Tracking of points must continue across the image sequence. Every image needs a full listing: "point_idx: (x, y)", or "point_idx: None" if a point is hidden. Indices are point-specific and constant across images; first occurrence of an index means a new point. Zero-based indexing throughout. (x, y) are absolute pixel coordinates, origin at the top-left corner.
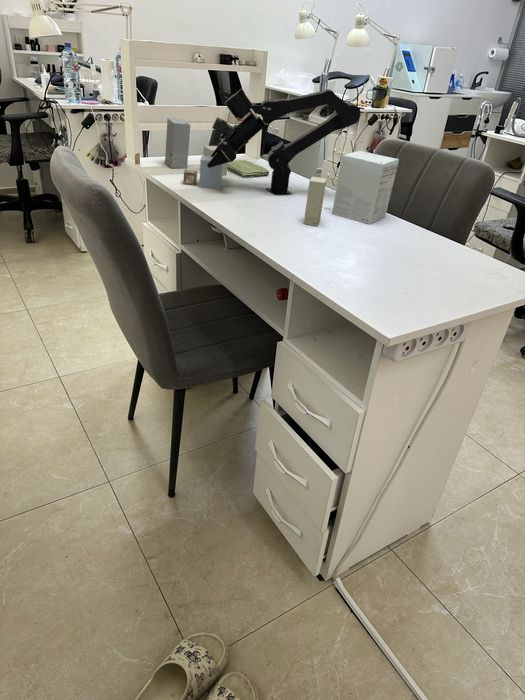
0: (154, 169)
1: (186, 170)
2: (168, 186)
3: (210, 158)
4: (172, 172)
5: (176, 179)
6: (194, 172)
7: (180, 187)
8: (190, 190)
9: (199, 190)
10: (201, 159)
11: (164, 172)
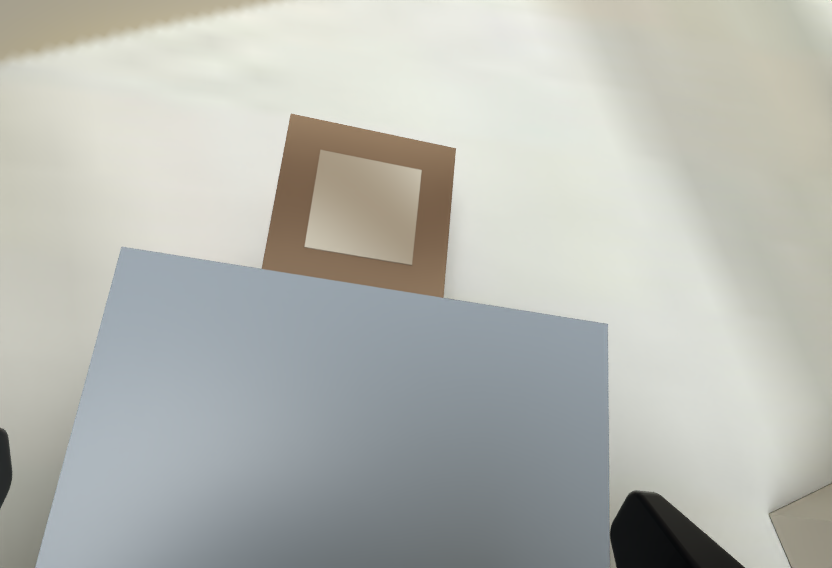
0: (741, 6)
1: (412, 161)
2: (177, 31)
3: (371, 534)
4: (714, 135)
5: (477, 140)
6: (328, 258)
7: (155, 141)
8: (26, 237)
9: (37, 348)
10: (174, 277)
11: (684, 68)
